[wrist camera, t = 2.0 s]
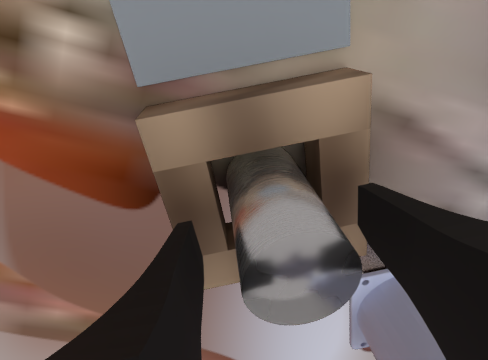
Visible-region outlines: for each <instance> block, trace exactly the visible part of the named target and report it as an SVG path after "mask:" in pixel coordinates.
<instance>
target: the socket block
mask: <svg viewBox="0 0 488 360" xmlns="http://www.w3.org/2000/svg"><path fill="white" fill-rule="evenodd" d="M371 94H372V74H371V73H367V72H363V71H359V70H355V69H351V68H342V69H337V70H332V71H327V72H322V73H316V74H311V75H306V76H301V77H296V78H291V79H286V80H281V81H275V82H270V83H265V84H260V85H255V86H250V87H245V88H240V89H235V90H229V91H224V92H219V93H214V94H209V95H204V96H199V97H194V98H188V99H183V100H178V101H173V102H168V103H163V104H158V105H153V106H148V107H146V108H145V109H144V110H143V111H142V112H141V114H140V115H139V116H138V117H137V118H136V120H135V122H136V125H137V127H138V130H139V133H140V136H141V139H142V142H143V145H144V148H145V151H146V153H147V156H148V159H149V162H150V165H151V168H152V171H153V174H154V176H155V179H156V182H157V185H158V188H159V191H160V194H161V197H162V199H163V202H164V205H165V208H166V211H167V214H168V217H169V220H170V222H171V225H172V228H173V229H174V228H175V226H176V225H177V223H181V222H186V221H191V220H192V223H193V226H194V229H195V233H196V236H197V239H198V242H199V246H200V249H201V252H202V256H203V264H204V290H205V289H210V288H214V287H219V286H224V285H228V284H233V283H238V282H240V278H239V270H238V263H237V256H236V248H235V241H234V233H233V226H232V222H230V223H225V219H224V215H223V211H222V207H221V203H220V199H219V194H218V190H217V186H216V182H215V178H214V174H213V170H212V166H211V161H212V160H217V159H222V158H227V157H232V156H237V155H242V154H247V153H252V152H257V151H262V150H267V149H272V148H277V147H281V146H286V145H291V144H296V143H301V142H304V145H305V158H306V170H307V180H308V182H309V183H310V185H311V186H312V188H313V189H314V191H315V192H316V194H317V195H318V196H319V198H320V199H321V201H322V202H323V204H324V205H325V207H326V208H327V210H328V211H329V212H330V214H331V215H332V217H333V218H334V220H335V221H336V223H337V224H338V225H339V227H340V228H341V230H342V231H343V233H344V234H345V236H346V237H347V239H348V240H349V241H350V243H351V244H352V246H353V247H354V249H355V250H356V252H357V253H358V255H359V257H361V256H365V255H366V251H367V240H366V239H365V237H364V235H363V234H362V232H361V230H360V228H359V226H358V225H357V224H358V186H359V185H364V184H369V157H370V125H371Z"/></svg>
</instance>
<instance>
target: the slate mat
mask: <svg viewBox="0 0 488 360" xmlns="http://www.w3.org/2000/svg"><path fill="white" fill-rule="evenodd" d="M109 1H110V4H111V7H112V10H113V13H114V16H115V19H116V22H117V25H118V28H119V31H120V34H121V37H122V41H123V44H124V47H125V50H126V53H127V56H128V59H129V62H130V65H131V68H132V71H133V74H134V77H135V80H136V84H137V87H141V86H146V85H151V84H156V83H161V82H166V81H172V80H177V79H182V78H187V77H192V76H197V75H203V74H208V73H213V72H218V71H223V70H228V69H233V68H239V67H244V66H249V65H254V64H259V63H264V62H270V61H275V60H280V59H285V58H290V57H295V56H301V55H306V54H311V53H316V52H321V51H326V50H332V49H337V48H342V47H347V46H350V0H109Z"/></svg>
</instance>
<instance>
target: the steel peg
mask: <svg viewBox="0 0 488 360" xmlns="http://www.w3.org/2000/svg"><path fill="white" fill-rule="evenodd" d="M226 181H227V189H228V196H229V204H230V211H231V218H232V226H233V233H234V241H235V248H236V256H237V263H238V270H239V278H240V285H241V292H242V297H243V300H244V303H245V304H246V306H247V307H248V309H249V310H250V311H251V312H252V313H253V314H255V315H256V316H257V317H259V318H260V319H262V320H264V321H267V322H270V323H274V324H279V325H300V324H306V323H310V322H314V321H317V320H320V319H322V318H324V317H326V316H328V315H330V314H332V313H334V312H335V311H337V310H338V309H340V308H341V307H342V306H343V305H344V304H345V303H346V302H347V301H348V300H349V299H350V298H351V297H352V296H353V294H354V293H355V291H356V290H357V288H358V286H359V283H360V280H361V276H362V263H361V260H360V257H359V255H358V253H357V252H356V250H355V249H354V247H353V246H352V244H351V243H350V241H349V240H348V239H347V237H346V236H345V234H344V233H343V231H342V230H341V228H340V227H339V225H338V224H337V223H336V221H335V220H334V218H333V217H332V215H331V214H330V212H329V211H328V210H327V208H326V207H325V205H324V204H323V202H322V201H321V199H320V198H319V196H318V195H317V194H316V192H315V191H314V189H313V188H312V186H311V185H310V183H309V182H308V180H307V179H306V178H305V176H304V175H303V173H302V172H301V170H300V169H299V167H298V166H297V165H296V163H295V162H294V160H293V159H292V157H291V156H290V154H289V153H288V152H287V151H285V150H284V149H283V148H281V147H277V148H272V149H267V150H262V151H257V152H252V153H247V154H242V155H237V156H235V157H234V158H233V159H232V161H231V162H230V164H229V166H228V169H227V174H226Z"/></svg>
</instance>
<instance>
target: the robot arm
mask: <svg viewBox="0 0 488 360" xmlns="http://www.w3.org/2000/svg"><path fill="white" fill-rule="evenodd" d="M357 225H358V226H359V228H360V230H361V232H362V234H363V235H364V237H365V239H366V240H367V242H368V244H369V245H370V246H371V248H372V249H373V250H374V252H375V253H376V254H377V256H378V257H379V258H380V259H381V261H382V262H383V263H384V265H385V266H386V267H387V268H388V269H384V270H379V271H374V272H370V273H365V274H362V276H361V280H360V283H359V286H358V288H357V290H356V291H355V293H354V294H353V296H352V297H351V298H350V345H351V347H352V348H353V349H361V348H365V347H370V349H371V351H372V352H373V354H374V356H375V358H376V360H488V221H483V220H479V219H475V218H472V217H468V216H464V215H460V214H457V213H454V212H450V211H447V210H444V209H441V208H438V207H435V206H432V205H429V204H426V203H424V202H421V201H418V200H416V199H413V198H411V197H408V196H405V195H403V194H400V193H398V192H395V191H393V190H390V189H388V188H385V187H383V186H380V185H377V184H374V183H369V184H364V185H359V186H358V224H357ZM364 280H365V281H364ZM203 292H204V264H203V256H202V252H201V249H200V246H199V242H198V239H197V236H196V233H195V229H194V226H193V223H192V220H191V221H186V222H181V223H177V225H176V226H175V228H174V229H173V231H172V232H171V234H170V236H169V237H168V239H167V241H166V242H165V243H164V245H163V246H162V248H161V249H160V251H159V253H158V254H157V255H156V257H155V258H154V260H153V261H152V262H151V264H150V265H149V266H148V268H147V269H146V270H145V272H144V273H143V274H142V275H141V277H140V278H139V279H138V280H137V281H136V282H135V284H134V285H133V286H132V287H131V288H130V289H129V290H128V291H127V292H126V293H125V294H124V296H122V297H121V298H120V299H119V300H118V301H117V302H116V303H115V304H114V305H113V306H112V307H111V308H110V309H109V310H108V311H107V312H106V313H105V314H104V315H102V316H101V317H100V318H99V319H98V320H97V321H95V322H94V323H93V324H92V325H91V326H89V327H88V328H87V329H86V330H85V331H83V332H82V333H81V334H80V335H78V336H77V337H76V338H74V339H73V340H72V341H70V342H69V343H68V344H66V345H65V346H63V347H62V348H61V349H59V350H58V351H57V352H55V353H54V354H52V355H51V356H50V357H49V358H47V359H45V360H201V321H202V307H203Z"/></svg>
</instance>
